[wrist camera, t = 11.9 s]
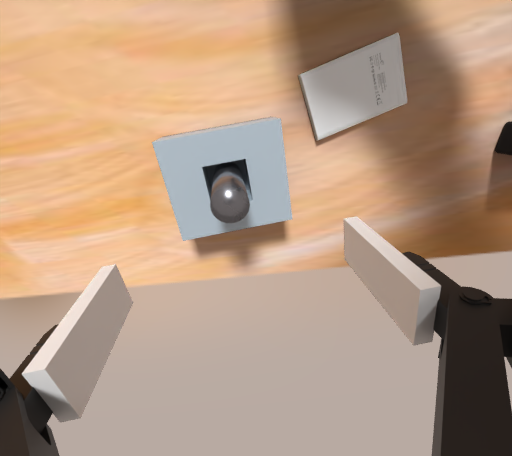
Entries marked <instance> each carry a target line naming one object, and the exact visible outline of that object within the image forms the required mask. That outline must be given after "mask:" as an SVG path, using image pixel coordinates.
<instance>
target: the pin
mask: <svg viewBox="0 0 512 456" xmlns="http://www.w3.org/2000/svg"><path fill="white" fill-rule="evenodd" d="M210 208H211V211H212V213H213V215H214V216H215V217H216V218H217V219H218V220H219V221H221V222H224V223H236V222H239V221H241V220H242V219H243V218H244V217H245V216H246V215H247V213H248V211H249V208H250V202H249V198H248V194H247V191H246V188H245V184H244V181H243V177H242V174H241V171H240V169H239V167H238V166H237V165H236V164H235V163H233V162H226V163H220V164H219V165H218V166H217V167H216V168H215V170H214V176H213V185H212V193H211V201H210Z"/></svg>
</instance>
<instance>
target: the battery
mask: <svg viewBox="0 0 512 456" xmlns="http://www.w3.org/2000/svg"><path fill="white" fill-rule="evenodd" d="M495 151H496V152H497V153H501V154H507V155H512V122H507V123H506V124H505V127H504V129H503V132H502V134H501V137H500V139H499V142H498V144H497V147H496V149H495Z"/></svg>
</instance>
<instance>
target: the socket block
mask: <svg viewBox="0 0 512 456" xmlns="http://www.w3.org/2000/svg"><path fill="white" fill-rule="evenodd" d="M152 144H153V147H154V150H155V153H156V157H157V160H158V163H159V166H160V169H161V172H162V176H163V179H164V182H165V185H166V188H167V192H168V195H169V198H170V201H171V204H172V207H173V211H174V214H175V217H176V220H177V223H178V226H179V230H180V233H181V236H182V239H183V241H185V240H190V239H195V238H200V237H205V236H210V235H215V234H220V233H225V232H230V231H235V230H241V229H246V228H251V227H256V226H261V225H266V224H271V223H276V222H281V221H286V220H291V219H292V212H291V204H290V195H289V186H288V178H287V169H286V160H285V152H284V143H283V134H282V126H281V119H280V118H275V117H268V118H263V119H257V120H252V121H246V122H241V123H235V124H230V125H224V126H219V127H214V128H208V129H203V130H197V131H192V132H186V133H181V134H175V135H170V136H164V137H162V138H160V139H158V140H156V141H154V142H152ZM226 162H233V163H235V164H236V165H237V166H238V167H239V169H240V171H241V174H242V177H243V181H244V184H245V188H246V191H247V194H248V198H249V202H250V208H249V211H248V213H247V215H246V216H245V217H244V218H243V219H242V220H241V221H239V222H236V223H224V222H221V221H219V220H218V219H217V218H216V217H215V216H214V215H213V213H212V211H211V208H210V201H211V193H212V185H213V176H214V170H215V168H216V167H217V166H218V165H219V164H220V163H226Z"/></svg>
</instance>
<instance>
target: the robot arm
mask: <svg viewBox="0 0 512 456" xmlns="http://www.w3.org/2000/svg"><path fill="white" fill-rule="evenodd" d="M344 254H345V260H346V262H347V263H348V264H349V265H350V267H351V268H352V269H353V270H354V272H355V273H356V274H357V275H358V277H359V278H360V279H361V280H362V282H363V283H364V284H365V285H366V287H367V288H368V289H369V290H370V292H371V293H372V294H373V295H374V297H375V298H376V299H377V300H378V302H379V303H380V304H381V305H382V307H383V308H384V309H385V310H386V312H387V313H388V314H389V315H390V317H391V318H392V319H393V320H394V322H395V323H396V324H397V325H398V327H399V328H400V329H401V330H402V332H403V333H404V334H405V335H406V337H407V338H408V339H409V340H410V342H411V343H412V344H413V345H418V344H423V343H428V342H432V340H433V333H434V331H435V332H436V333H437V334H438V335H439V336H440V337H441V338H442V339H441V345H440V350H439V356H438V358H439V370H438V383H437V396H436V409H435V421H434V435H433V446H432V456H512V411H511V404H510V396H509V389H508V382H507V375H506V368H505V361H504V357H507V360H508V362H509V363H510V365H511V367H512V299H497V298H496V299H495V298H493V297H492V296H490V295H489V294H488V293H486V292H484V291H482V290H479V289H475V288H472V287H461V286H459V285H458V284H457V283H455V282H454V281H453V280H451V279H450V278H449V277H447V276H446V275H445V274H443V273H442V272H441V271H440V270H438V269H436V267H434V266H433V265H432V264H429V262H428V261H426V260H425V259H424V258H422V257H421V256H419V255H416V254H414V253H411V252H406V253H401V252H399V251H398V250H397V249H396V248H394V247H393V246H392V245H391V244H390V243H388V242H387V241H386V240H385V239H384V238H382V237H381V236H380V235H379V234H377V233H376V232H375V231H374V230H373V229H371V228H370V227H369V226H368V225H366V224H365V223H364V222H363V221H362V220H360V219H359V218H358V217H357V216H356V217H351V218H346V219H344ZM132 304H133V301H132V299H131V297H130V294H129V292H128V290H127V288H126V286H125V283H124V281H123V279H122V277H121V275H120V272H119V270H118V268H117V266H116V264H114V265H109V266H104V267H102V268H101V269H100V270H99V272H98V273H97V274H96V276H95V277H94V278H93V280H92V281H91V282H90V284H89V285H88V286H87V288H86V289H85V290H84V292H83V293H82V294H81V296H80V297H79V298H78V300H77V301H76V302H75V304H74V305H73V306H72V308H71V309H70V310H69V312H68V313H67V314H66V316H65V317H64V318H63V320H62V321H61V322H60V323H59V324H58V325H55V326H54V327H53V328H51V329H50V330H49V331H48V332H47V333H45V334H44V335H43V337H42V338H41V339H40V341H39V342H38V343H37V344H36V347H34V348H33V350H32V351H31V352H30V355H28V356H27V357H26V358H25V360H24V361H23V362H22V364H21V365H20V366H19V368H18V369H17V370H16V371H15V373H14V374H13V375H12V377H11V378H10V379H9V378H8V377H7V376H6V375H5V374H4V372H3V371H2V370H1V369H0V456H59V453H58V450H57V447H56V443H55V440H54V437H53V434H52V431H51V429H50V427H49V426H48V425H47V422H48V420H49V418H50V417H51V415H52V413H53V414H54V415H55V417H56V418H57V419H58V420H59V421H60V422H64V421H69V420H74V419H78V418H81V416H82V414H83V412H84V409H85V407H86V405H87V403H88V401H89V398H90V396H91V394H92V392H93V389H94V387H95V385H96V383H97V381H98V379H99V376H100V374H101V372H102V370H103V368H104V365H105V363H106V361H107V359H108V356H109V354H110V352H111V350H112V348H113V346H114V343H115V341H116V339H117V337H118V335H119V333H120V330H121V328H122V326H123V324H124V322H125V319H126V317H127V314H128V313H129V311H130V308H131V306H132Z"/></svg>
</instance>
